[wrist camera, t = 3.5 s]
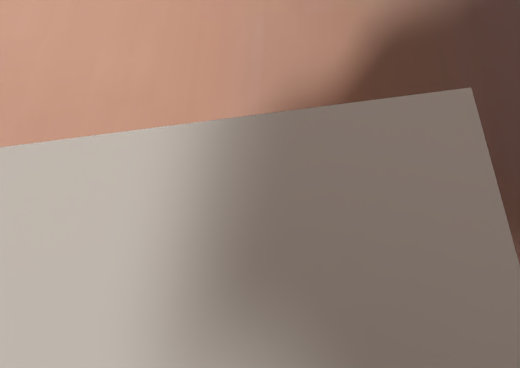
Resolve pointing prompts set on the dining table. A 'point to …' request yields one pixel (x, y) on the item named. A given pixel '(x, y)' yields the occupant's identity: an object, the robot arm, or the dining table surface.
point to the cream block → (263, 243)
